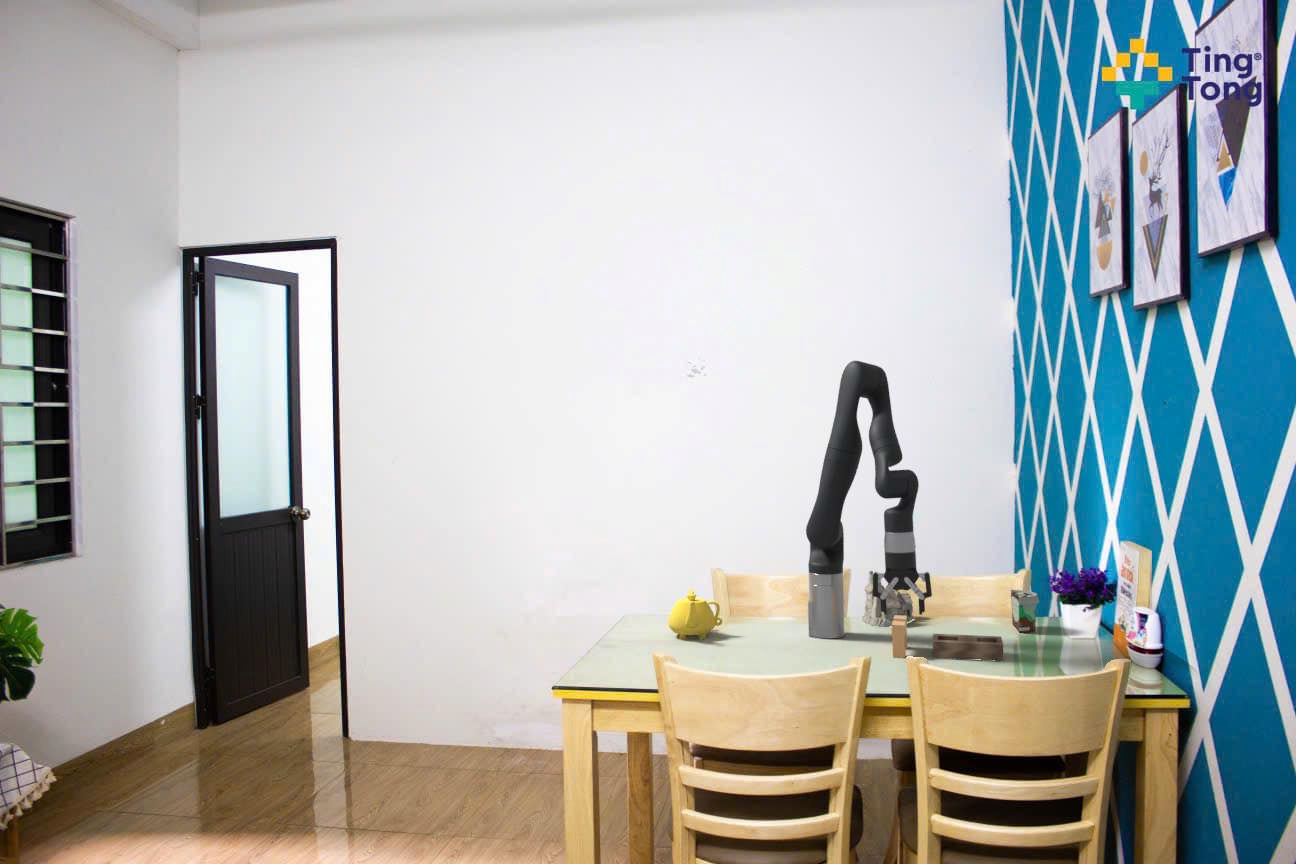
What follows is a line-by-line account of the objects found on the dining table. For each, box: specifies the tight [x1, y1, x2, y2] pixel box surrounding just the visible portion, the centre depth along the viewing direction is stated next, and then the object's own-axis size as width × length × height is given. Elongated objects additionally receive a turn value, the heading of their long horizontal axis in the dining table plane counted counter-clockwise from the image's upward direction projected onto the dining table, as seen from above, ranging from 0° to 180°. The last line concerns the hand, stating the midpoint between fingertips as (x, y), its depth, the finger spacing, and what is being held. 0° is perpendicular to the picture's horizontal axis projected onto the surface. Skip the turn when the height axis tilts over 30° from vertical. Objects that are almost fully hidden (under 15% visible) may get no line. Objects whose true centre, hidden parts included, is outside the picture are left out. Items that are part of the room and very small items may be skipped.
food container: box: [1010, 589, 1040, 634], centre depth 252 cm, size 12×6×10 cm, turn 168°
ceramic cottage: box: [861, 570, 916, 628], centre depth 267 cm, size 16×16×15 cm
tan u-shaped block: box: [891, 615, 908, 659], centre depth 231 cm, size 12×3×8 cm, turn 162°
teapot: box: [668, 588, 723, 640], centre depth 255 cm, size 20×15×12 cm
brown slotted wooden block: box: [932, 633, 1004, 662], centre depth 226 cm, size 16×9×4 cm, turn 72°
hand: (903, 613), depth 231 cm, fingers open, 8 cm apart
